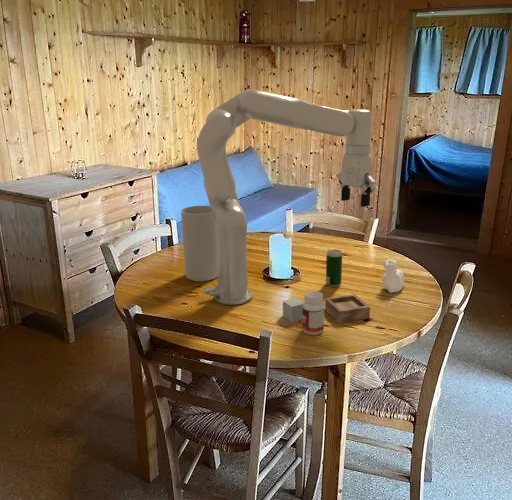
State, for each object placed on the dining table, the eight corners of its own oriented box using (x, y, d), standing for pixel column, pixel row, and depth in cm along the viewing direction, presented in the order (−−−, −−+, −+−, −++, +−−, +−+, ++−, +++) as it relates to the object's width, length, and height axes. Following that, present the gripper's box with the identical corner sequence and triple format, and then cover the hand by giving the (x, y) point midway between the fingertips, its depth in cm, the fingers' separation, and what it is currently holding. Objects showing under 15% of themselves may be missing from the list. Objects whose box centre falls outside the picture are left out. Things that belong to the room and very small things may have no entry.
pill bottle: (300, 326, 153) (300, 290, 149) (321, 324, 153) (322, 289, 149) (304, 336, 147) (304, 299, 143) (325, 334, 147) (326, 297, 144)
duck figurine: (398, 289, 183) (382, 261, 184) (416, 280, 178) (398, 251, 179) (383, 300, 174) (365, 270, 175) (401, 291, 169) (383, 261, 170)
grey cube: (292, 322, 155) (292, 306, 154) (282, 316, 159) (282, 301, 158) (305, 318, 158) (306, 303, 156) (296, 312, 162) (296, 297, 160)
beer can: (332, 288, 179) (333, 255, 175) (322, 283, 183) (323, 251, 179) (344, 284, 182) (345, 252, 178) (334, 280, 186) (335, 248, 182)
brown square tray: (338, 322, 154) (339, 311, 153) (325, 309, 163) (325, 298, 162) (369, 318, 157) (369, 306, 155) (354, 304, 166) (354, 294, 165)
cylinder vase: (216, 268, 200) (213, 204, 192) (222, 280, 188) (219, 212, 180) (183, 271, 197) (179, 207, 189) (187, 283, 185) (183, 215, 177)
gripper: (331, 148, 170) (329, 199, 175) (367, 154, 156) (363, 210, 161) (349, 146, 174) (346, 196, 179) (385, 152, 159) (382, 207, 165)
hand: (355, 203), depth 170 cm, fingers open, 9 cm apart
